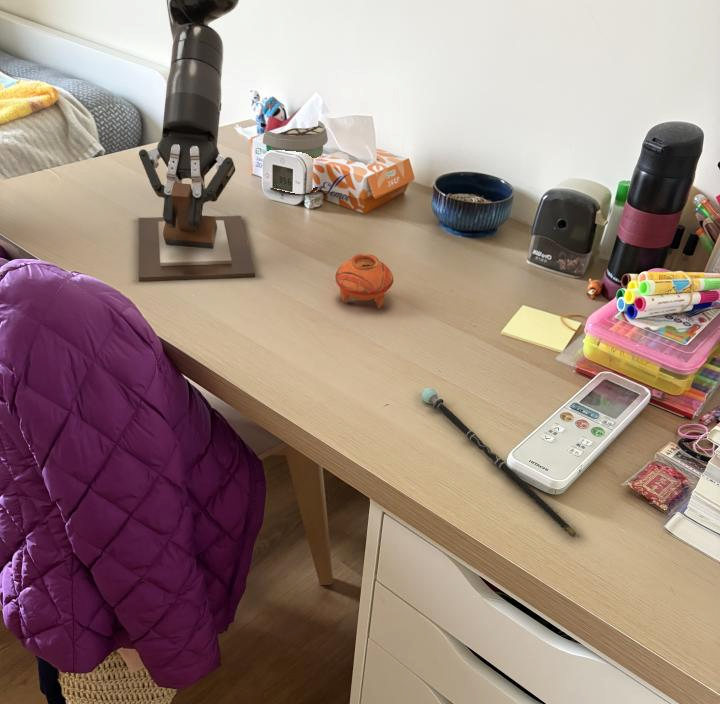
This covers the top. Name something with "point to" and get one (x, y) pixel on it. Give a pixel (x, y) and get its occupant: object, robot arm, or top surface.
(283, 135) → the food container
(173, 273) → the tile board
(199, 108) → the robot arm
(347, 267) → the pot
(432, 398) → the black stick
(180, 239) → the brown t-shaped stand
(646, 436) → the top surface
